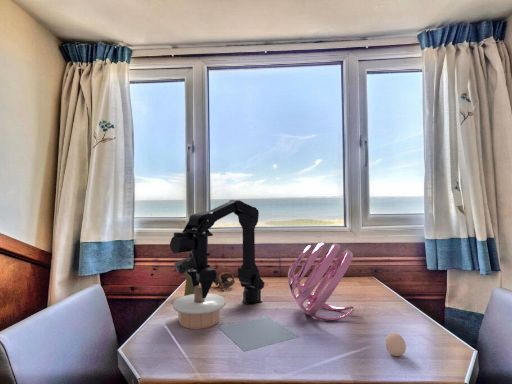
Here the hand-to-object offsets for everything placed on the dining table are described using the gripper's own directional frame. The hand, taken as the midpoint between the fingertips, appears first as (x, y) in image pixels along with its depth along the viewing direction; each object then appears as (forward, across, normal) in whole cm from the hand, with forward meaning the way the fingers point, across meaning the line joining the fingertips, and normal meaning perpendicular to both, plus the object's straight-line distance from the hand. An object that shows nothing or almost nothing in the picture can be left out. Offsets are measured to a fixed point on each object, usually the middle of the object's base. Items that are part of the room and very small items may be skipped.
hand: (199, 294), depth 109 cm
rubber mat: (+10, +18, +13) cm, 24 cm away
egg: (+10, +49, +39) cm, 63 cm away
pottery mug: (+10, -36, +24) cm, 44 cm away
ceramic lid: (+4, 0, 0) cm, 4 cm away
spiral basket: (+10, +15, +42) cm, 46 cm away
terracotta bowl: (+10, 0, 0) cm, 10 cm away
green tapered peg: (+10, -29, +6) cm, 31 cm away
